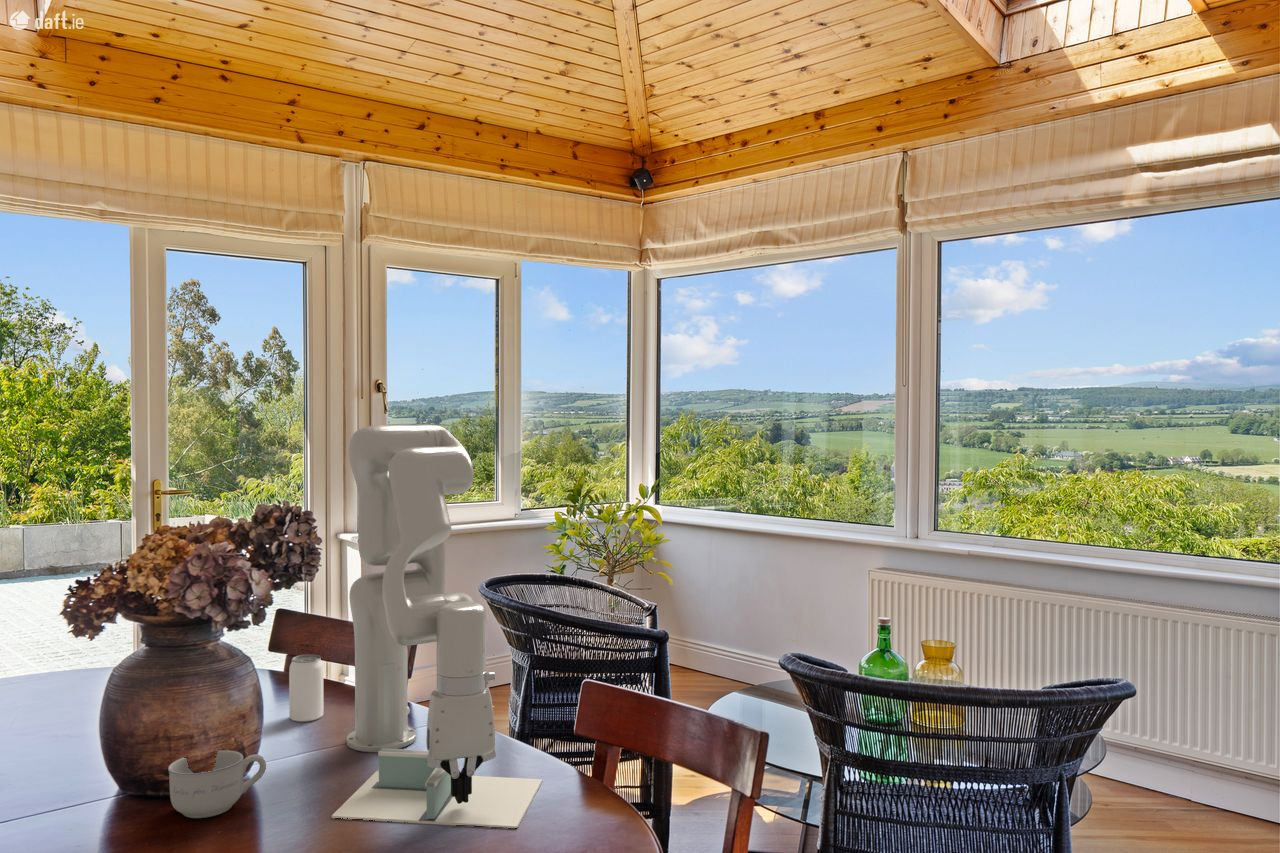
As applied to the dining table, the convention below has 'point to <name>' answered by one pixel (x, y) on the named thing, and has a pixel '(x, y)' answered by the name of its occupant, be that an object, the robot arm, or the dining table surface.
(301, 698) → the can
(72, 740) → the dining table surface
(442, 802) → the pale open channel
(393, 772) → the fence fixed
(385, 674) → the robot arm
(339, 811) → the card
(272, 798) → the dining table surface
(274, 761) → the dining table surface
